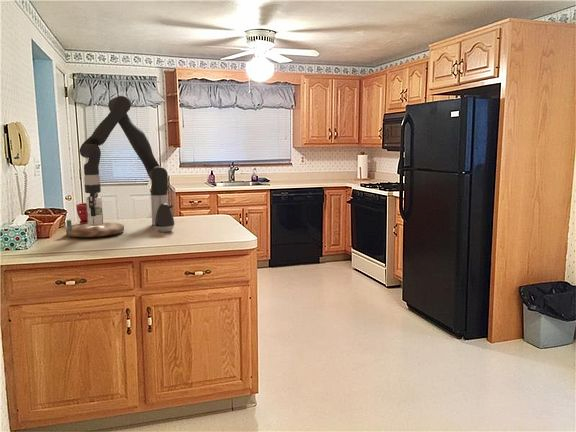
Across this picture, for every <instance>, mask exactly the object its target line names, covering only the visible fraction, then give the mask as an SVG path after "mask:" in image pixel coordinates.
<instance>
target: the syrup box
mask: <svg viewBox="0 0 576 432" xmlns="http://www.w3.org/2000/svg"><path fill="white" fill-rule="evenodd" d="M88 197H89V196H88ZM88 197H85V203H86V207H87V222H88V225H92V226H95V225H102V224H103V223H104V216H103V215H104V214H103V198H102V196H99V195H98V197H97V198H95V200H96V202H97V204H96V205H95V207H96V208H95V212H96V216H91V210H90V208H89V198H88ZM94 203H95V201H94ZM91 206H93V204H92V205H91Z"/></svg>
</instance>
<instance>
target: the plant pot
mask: <svg viewBox="0 0 576 432" xmlns="http://www.w3.org/2000/svg"><path fill="white" fill-rule="evenodd" d="M76 212H77V217H78V219H79V225H82V224H88V222H87V207H86V202H83V203H77V204H76Z"/></svg>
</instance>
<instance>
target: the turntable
mask: <svg viewBox="0 0 576 432" xmlns="http://www.w3.org/2000/svg"><path fill="white" fill-rule="evenodd" d="M72 224H73V223H72V219H66V229H65V235H67V236H69V237H76V238H94V237H95V238H97V237H105V236H111V235H116V234H121V233H122V232H124V231H125V225H124V224H122V223H117V222H103V224H102V225H95V226H92V225H88V224H77V225H72Z"/></svg>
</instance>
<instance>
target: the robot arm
mask: <svg viewBox="0 0 576 432" xmlns="http://www.w3.org/2000/svg"><path fill="white" fill-rule="evenodd" d="M107 106H108V107H107V108H108V110H109V113H108V114H107V116H106V117H105V118H104V119H103V120H102V121H101V122H100V123H99V124H98V125H97V127H96V128H95V129H94V131H93V132H92V134H91V135H90V136H89V137H88V138H86V140H85V141H84V142H82V143H81V145H80V147H79V154H80V156H81V157H82V158H85V159H88V161H87V162H86V163H84V165H83V175H84V177H83V181H84V192H85V193H86V194H89V196H88V198H89V208H90V210H91V216H96V212H95V208H96V207H95V205H96V204H97V202H96V200H95V198H97V197H98V196H99V193H101V192H102V188H101V177H100V169H99V166H100V161H101V157H102V151H101V148H100V146H103V145H104V144H105V142H106V141H107V140H108V138H109V136H110V135H111V133H112V132H113V130H114V129H115V128H116V126H117V124H118V125H119V127H120V129H122V131H123V133H124V136H125V137H126V138H127V140H128V142H129V143H130V146H131V147H132V149H133V150H134V152H135V153H136V155H137V157H138V158H139V159H140V161H141V162H142V164H143V166H144V168H145V170H146V173H147V175H148V178H149V179H150V182H151V189H150V207H151V209H150V210H151V224H152V225H153V226H155V216H156V212H157V209H158V207H159V205H160V204H163V203H165V204H167V205H168V204H169V202H168V189H169V176H168V175H169V174H168V171H167V170H166V169H165V168H164V167H162V166H160V164H159V162H158V161H157V159H156V158H155V156H154V153H153V149H152V146H151V143H150V142H149V140H148V137H147V135H146V134H145V132H144V131H143V130H142V129H141V128H140V127H139V126H137V125H136V124H135V123H134V122H133V121H132V119H131V118H130V116H129V115H128V112H129V111H130V110H131V108H132V103H131V100H130V98H129V97H127V96H125V95H118V96H115V97H113V98H111V99H110V100H109V101H108V103H107ZM94 201H95V203H94ZM92 204H93V206H91V205H92ZM168 206H169V205H168Z"/></svg>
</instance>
